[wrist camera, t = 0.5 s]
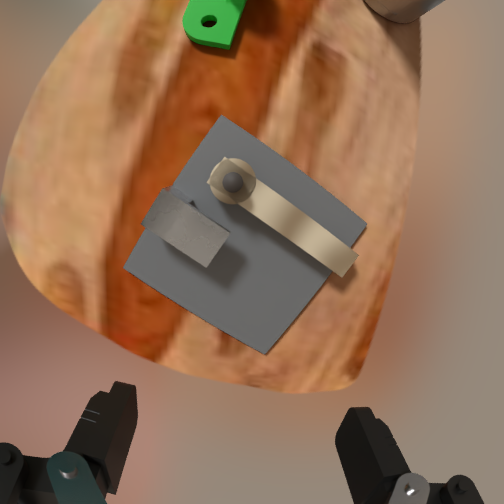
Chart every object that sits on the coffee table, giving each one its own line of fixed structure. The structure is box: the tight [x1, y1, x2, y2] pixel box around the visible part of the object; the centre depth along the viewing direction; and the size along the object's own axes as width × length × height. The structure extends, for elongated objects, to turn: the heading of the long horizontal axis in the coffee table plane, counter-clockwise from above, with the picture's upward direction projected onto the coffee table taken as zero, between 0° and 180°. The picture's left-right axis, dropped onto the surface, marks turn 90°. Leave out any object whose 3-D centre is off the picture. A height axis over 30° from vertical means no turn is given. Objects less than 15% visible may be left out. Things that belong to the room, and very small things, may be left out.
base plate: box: [123, 115, 367, 354], centre depth 34 cm, size 20×20×1 cm
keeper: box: [141, 186, 230, 268], centre depth 31 cm, size 4×8×4 cm, turn 54°
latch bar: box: [206, 157, 359, 277], centre depth 30 cm, size 17×4×5 cm, turn 55°
